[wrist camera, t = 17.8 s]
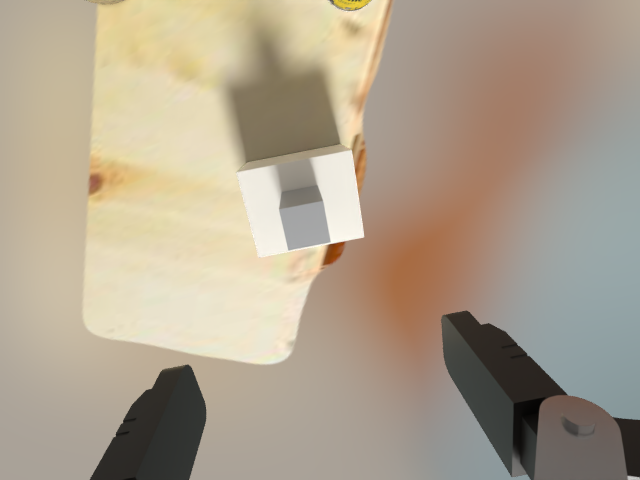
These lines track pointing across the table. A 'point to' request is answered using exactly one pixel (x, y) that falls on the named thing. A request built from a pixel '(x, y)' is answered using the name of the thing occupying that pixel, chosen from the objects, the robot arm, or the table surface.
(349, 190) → the white block
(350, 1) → the supplement bottle
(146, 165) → the table surface
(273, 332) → the table surface
